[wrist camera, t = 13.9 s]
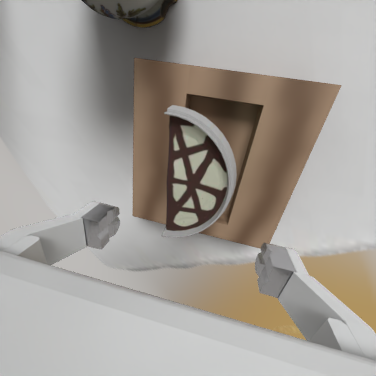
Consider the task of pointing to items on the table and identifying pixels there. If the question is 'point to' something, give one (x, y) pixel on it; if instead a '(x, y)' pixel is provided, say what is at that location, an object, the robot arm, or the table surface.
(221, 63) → the table surface
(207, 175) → the food container
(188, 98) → the walnut base
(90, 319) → the robot arm
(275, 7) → the table surface
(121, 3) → the apothecary jar
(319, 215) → the table surface
